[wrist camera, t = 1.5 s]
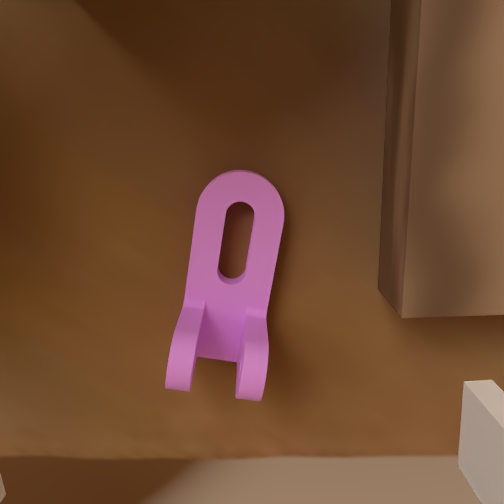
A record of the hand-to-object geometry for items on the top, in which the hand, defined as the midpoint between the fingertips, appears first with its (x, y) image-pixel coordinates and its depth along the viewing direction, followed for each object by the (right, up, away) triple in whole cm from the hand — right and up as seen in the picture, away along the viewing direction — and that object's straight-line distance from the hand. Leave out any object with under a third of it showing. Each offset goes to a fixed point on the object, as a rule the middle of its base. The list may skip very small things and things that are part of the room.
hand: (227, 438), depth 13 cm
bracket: (-1, +4, +19) cm, 19 cm away
